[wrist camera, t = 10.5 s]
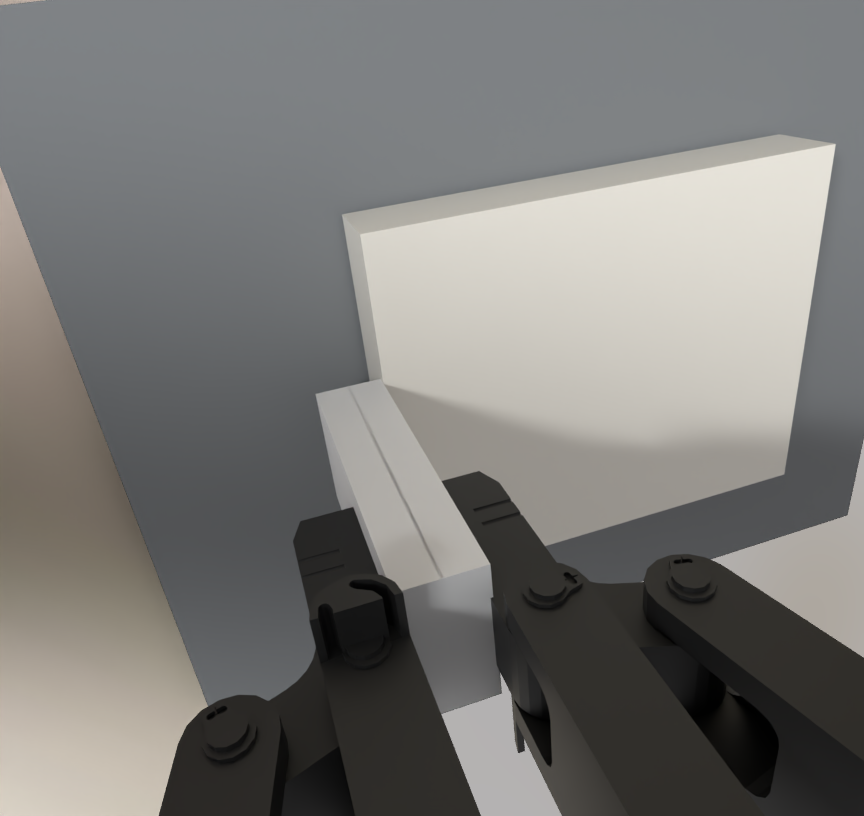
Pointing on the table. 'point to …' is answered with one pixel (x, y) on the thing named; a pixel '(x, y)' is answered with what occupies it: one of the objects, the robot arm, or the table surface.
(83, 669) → the table surface
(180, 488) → the mat
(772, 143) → the tile
